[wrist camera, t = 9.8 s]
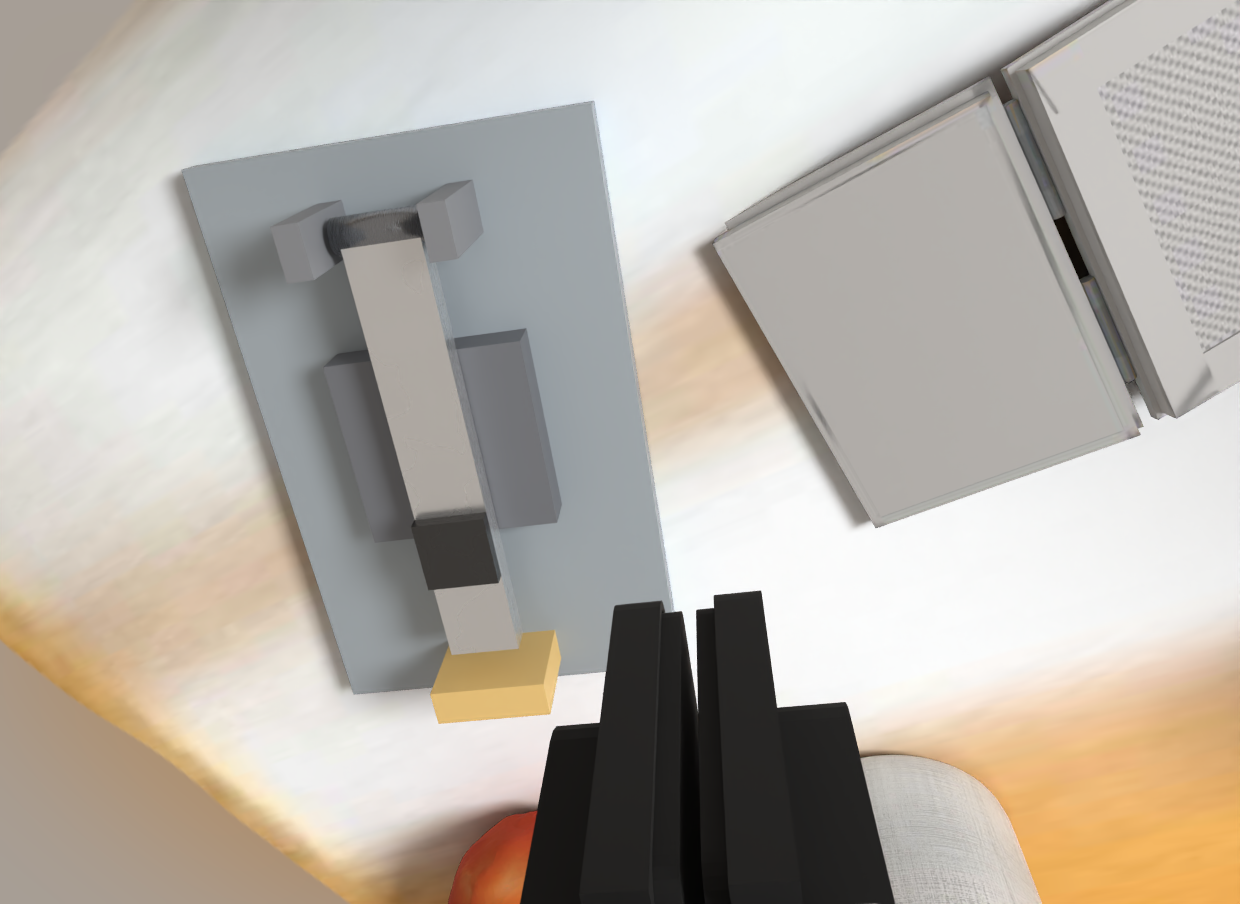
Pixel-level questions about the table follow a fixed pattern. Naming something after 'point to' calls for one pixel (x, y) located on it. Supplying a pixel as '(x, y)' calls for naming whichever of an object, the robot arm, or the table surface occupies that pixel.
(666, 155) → the table surface
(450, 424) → the clamp bar
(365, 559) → the clamp base
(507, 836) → the tomato
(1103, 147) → the gadget
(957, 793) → the planter
